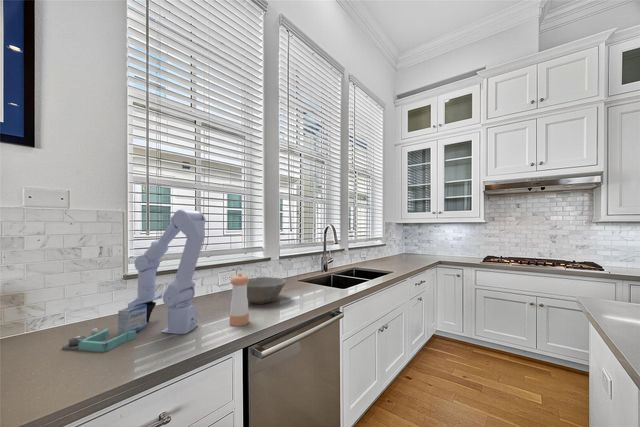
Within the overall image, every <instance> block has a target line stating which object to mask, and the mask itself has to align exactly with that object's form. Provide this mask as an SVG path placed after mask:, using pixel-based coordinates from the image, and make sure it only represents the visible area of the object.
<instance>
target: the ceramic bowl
mask: <svg viewBox="0 0 640 427" xmlns="http://www.w3.org/2000/svg"><path fill="white" fill-rule="evenodd" d="M248 279H249V282H248V284H247V300H249V301H250V302H252V303H254V304H256V305H257V304H258V305H262V304H267V303H271V302H272V303H273V302H274V301H275V300H276V299H278V297H279V294H280V293H281V292H282V290H283V287H285V285H286V283H287V280H286V279H285V278H281V277H272V276H271V277H270V276H267V277H266V276H260V277H251V278H248Z"/></svg>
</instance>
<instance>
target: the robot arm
mask: <svg viewBox="0 0 640 427" xmlns="http://www.w3.org/2000/svg"><path fill="white" fill-rule="evenodd" d="M205 224H206V216H204V214H203V213H202V212H201V211H200V210H184V209H178V210H176V211H175V212H174V214H173V215H172V216H170V223H169V225H168V226H167V228H166V229H165V230H164V232H163V234H162V235H161V237H160V238H159V239H157V240H154V241H152V242H151V243H150V246H149V247H148V248H147V249H146V251H144V254H141V255H138V256H136V259H135V260H134V268H135V269H136V271H137V297H135V299H134V300H132V301H130V302H128V303H127V308H135V306H138V305H141V304H146V305H147V316H146V324H148V323H149V322H150V319H151V315H152V312H153V310H154V308H155V306H156V305H157V303H156V302H155V301H156V300H159V299H162V302H163V304H164V305H165V306H166V307H165V308H167V325H166V326H167V327H166V328H164V329H162V330H161V333H166V334H176V335H177V334H178V335H179V334H180V335H186V334H188V333H189V332H191V331H192V330H194V329H195V328H197V327H198V326H199V324H198V308H197V306H196V305H194V304H193V305H192V304H191V303H192V299H194V297H195V293H196V292H195V286H196V283H195V282H194V281H193V277H194V273H195V269H196V266H197V263H198V260H199V256H200V252H201V250H202V247H203V244H204V239H205ZM180 232H182V234H183V235H185V237H186V241H185V244H184V248H183V251H182V254H181V258H180V260H179V261H180V262H179V265H178V268H177V272H176V276H175V278H174V279H173V280H172V281H171V282H170V283H168V286H167V288H166V290H165V291H164V293H161V292H157V293H156V274H157V272H158V268H159V267H160V264H161V261H160V260H161V259H162V258H163V257H164V255H165V254H166V253H167V251H168V250H169V244H170V243H171V242H172V241H173V240H174V238H176V237H177V235H178V234H179V233H180Z"/></svg>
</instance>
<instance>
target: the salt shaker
mask: <svg viewBox="0 0 640 427" xmlns="http://www.w3.org/2000/svg"><path fill="white" fill-rule="evenodd" d="M249 279H250V278H249V277H248V276H247V275H244V274H243V273H238V274H237V275H234V276H233V277H232V278H231V279H230V283H231V286H232V296H231V302H230V313H229V325H230V326H233V327H241V326H245V325H247V324H248V323H249V322H250V320H249V319H250V314H249V313H250V312H249V302H248V300H249V299H248V298H247V284H248V282H249Z"/></svg>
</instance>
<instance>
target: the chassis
mask: <svg viewBox="0 0 640 427" xmlns="http://www.w3.org/2000/svg"><path fill="white" fill-rule="evenodd" d="M136 334H137V332H136V331H135V330H133V331H130V332H126V333H124V334H122V335H117V336H116V337H113V338H111V339H109V340H106V339H107V338H108V337H109V336H110V328H105V329H103V330H101V331H100V332H98V328H97V327H95V328H91V331H90V335H87V336H85V335H84V336H83V335H77V336H74V337H72V338H70V339H68V344H65V345H63V346H62V350H69V351H87V352H98V353H99V352H100V353H101V352H102V353H106V352H108V351H110V350H112V349H114V348H116V347H118V346H120V345H122V344H123V343H125V342H128V341H132V340H134V339H136V336H137V335H136ZM104 340H106V341H104Z"/></svg>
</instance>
